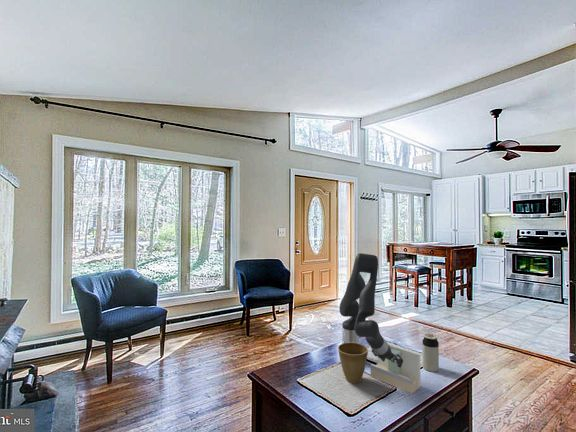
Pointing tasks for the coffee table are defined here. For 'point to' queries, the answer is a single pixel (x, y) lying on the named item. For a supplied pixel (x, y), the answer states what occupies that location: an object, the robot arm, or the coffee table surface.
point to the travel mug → (430, 352)
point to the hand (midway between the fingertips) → (392, 362)
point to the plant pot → (353, 360)
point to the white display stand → (409, 371)
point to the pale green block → (393, 366)
